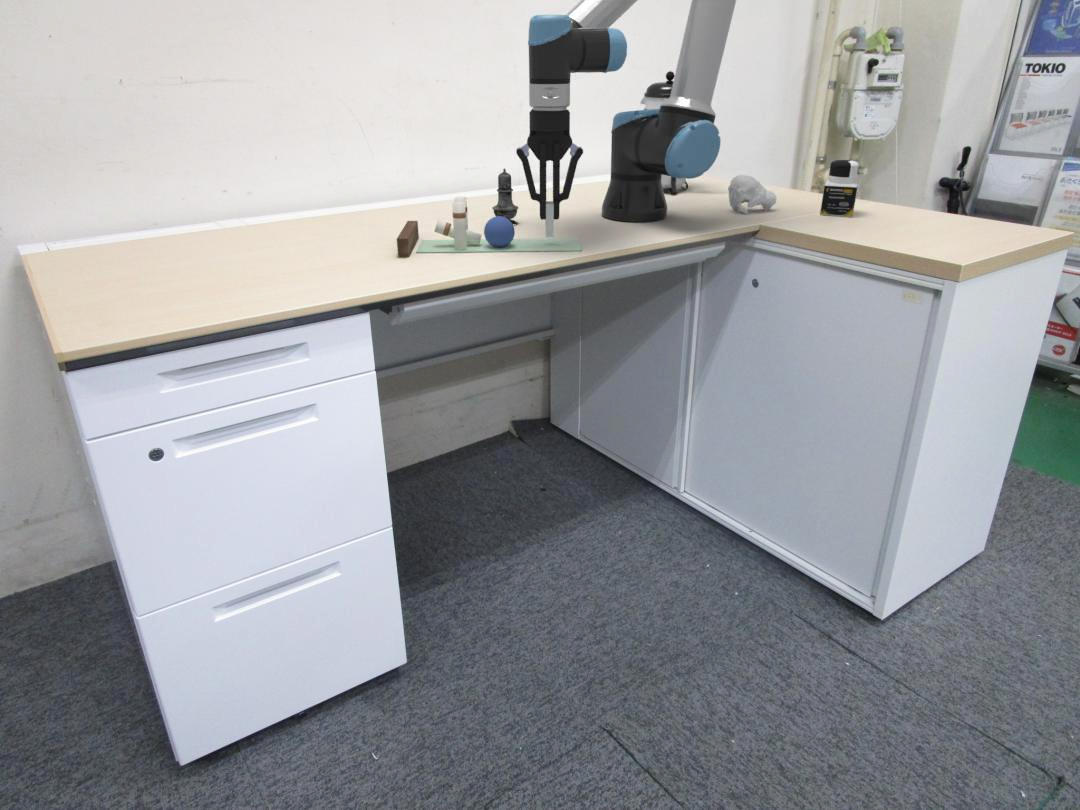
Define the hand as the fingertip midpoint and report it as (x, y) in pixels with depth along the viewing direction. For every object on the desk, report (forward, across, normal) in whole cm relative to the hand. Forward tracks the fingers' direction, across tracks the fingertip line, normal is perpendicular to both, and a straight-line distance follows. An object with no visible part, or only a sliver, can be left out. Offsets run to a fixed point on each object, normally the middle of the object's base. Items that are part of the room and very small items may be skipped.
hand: (549, 235), depth 148 cm
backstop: (+2, -28, 0) cm, 28 cm away
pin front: (+1, -14, 0) cm, 14 cm away
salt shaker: (+2, -9, +21) cm, 23 cm away
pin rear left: (+2, -18, -3) cm, 18 cm away
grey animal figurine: (+2, +50, +32) cm, 59 cm away
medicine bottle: (+2, +69, +28) cm, 74 cm away
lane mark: (+2, -10, 0) cm, 10 cm away
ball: (-1, -10, -1) cm, 10 cm away
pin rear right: (+2, -18, +3) cm, 18 cm away
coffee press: (+2, +35, +61) cm, 70 cm away
